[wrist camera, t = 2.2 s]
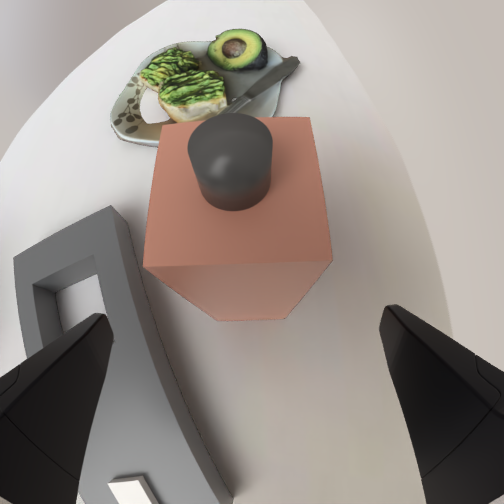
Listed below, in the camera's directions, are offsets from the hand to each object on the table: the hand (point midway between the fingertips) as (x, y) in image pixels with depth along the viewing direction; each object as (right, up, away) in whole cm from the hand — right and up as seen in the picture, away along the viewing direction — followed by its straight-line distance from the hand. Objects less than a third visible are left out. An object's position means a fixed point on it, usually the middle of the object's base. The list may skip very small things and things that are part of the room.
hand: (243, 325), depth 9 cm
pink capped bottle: (0, 0, +11) cm, 11 cm away
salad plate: (-5, +19, +18) cm, 26 cm away
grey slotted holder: (-10, -7, +9) cm, 15 cm away
